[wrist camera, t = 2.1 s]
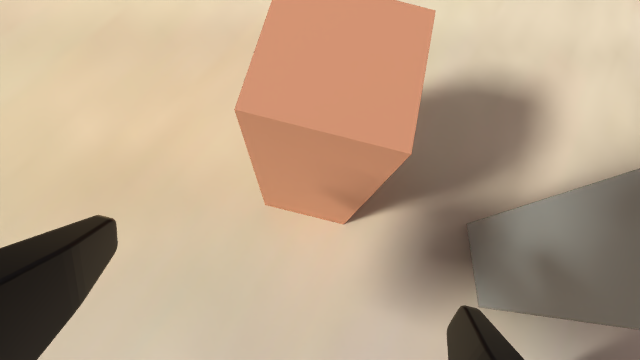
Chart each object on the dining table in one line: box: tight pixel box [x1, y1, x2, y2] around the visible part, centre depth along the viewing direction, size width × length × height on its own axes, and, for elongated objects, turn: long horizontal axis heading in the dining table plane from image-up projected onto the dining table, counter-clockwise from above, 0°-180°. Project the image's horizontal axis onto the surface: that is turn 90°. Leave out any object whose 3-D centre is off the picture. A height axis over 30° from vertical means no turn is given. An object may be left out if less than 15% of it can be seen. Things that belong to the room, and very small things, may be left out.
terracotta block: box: [234, 0, 435, 224], centre depth 16 cm, size 5×5×12 cm
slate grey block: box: [467, 169, 640, 330], centre depth 16 cm, size 5×5×12 cm
